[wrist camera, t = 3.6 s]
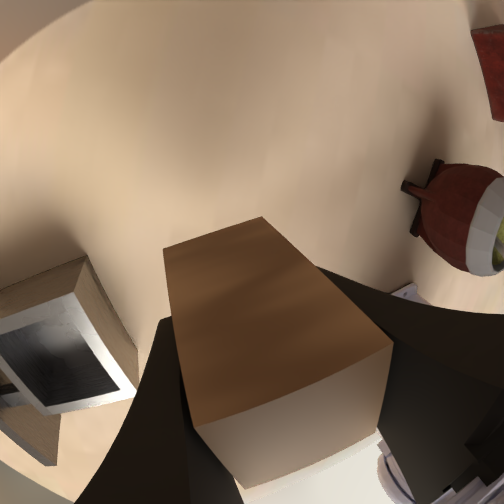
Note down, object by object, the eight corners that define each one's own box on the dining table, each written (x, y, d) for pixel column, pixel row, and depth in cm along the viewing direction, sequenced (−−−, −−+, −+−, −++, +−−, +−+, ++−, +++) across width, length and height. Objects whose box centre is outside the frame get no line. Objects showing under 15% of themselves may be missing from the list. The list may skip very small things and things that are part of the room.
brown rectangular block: (261, 216, 11) (393, 342, 5) (278, 297, 13) (375, 432, 6) (162, 249, 10) (193, 427, 4) (194, 327, 12) (245, 489, 6)
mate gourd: (460, 170, 21) (611, 240, 8) (429, 255, 23) (563, 353, 10) (408, 134, 18) (617, 206, 5) (372, 239, 20) (549, 373, 7)
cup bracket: (56, 178, 13) (19, 206, 8) (163, 390, 20) (173, 446, 16) (-67, 248, 11) (-107, 288, 6) (50, 417, 18) (45, 466, 14)
